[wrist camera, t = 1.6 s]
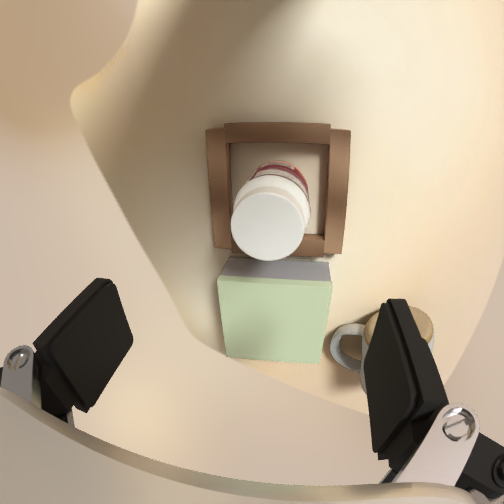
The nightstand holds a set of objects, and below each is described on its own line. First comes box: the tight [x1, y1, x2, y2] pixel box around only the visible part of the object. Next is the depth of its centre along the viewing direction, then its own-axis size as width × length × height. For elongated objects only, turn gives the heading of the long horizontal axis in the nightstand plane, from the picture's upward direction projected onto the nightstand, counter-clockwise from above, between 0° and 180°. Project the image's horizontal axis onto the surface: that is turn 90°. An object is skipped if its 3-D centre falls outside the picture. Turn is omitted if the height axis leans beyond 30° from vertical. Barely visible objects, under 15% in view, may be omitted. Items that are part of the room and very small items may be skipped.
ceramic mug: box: [330, 306, 434, 394], centre depth 24 cm, size 11×8×8 cm
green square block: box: [217, 257, 332, 364], centre depth 26 cm, size 9×9×4 cm
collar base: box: [205, 122, 351, 257], centre depth 22 cm, size 11×11×1 cm
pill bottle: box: [231, 161, 310, 261], centre depth 19 cm, size 5×5×8 cm
